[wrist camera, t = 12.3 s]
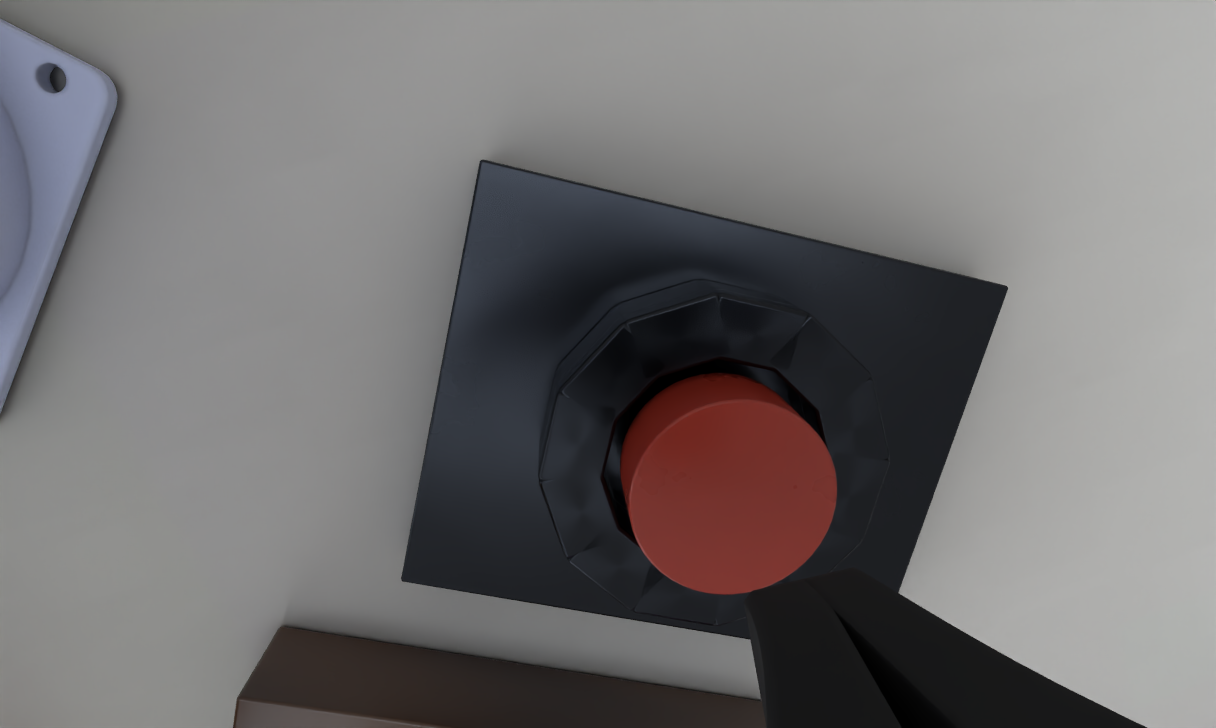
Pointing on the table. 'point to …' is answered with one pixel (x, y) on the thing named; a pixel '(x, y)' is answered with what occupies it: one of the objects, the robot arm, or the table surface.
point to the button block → (653, 360)
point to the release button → (726, 484)
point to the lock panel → (456, 692)
